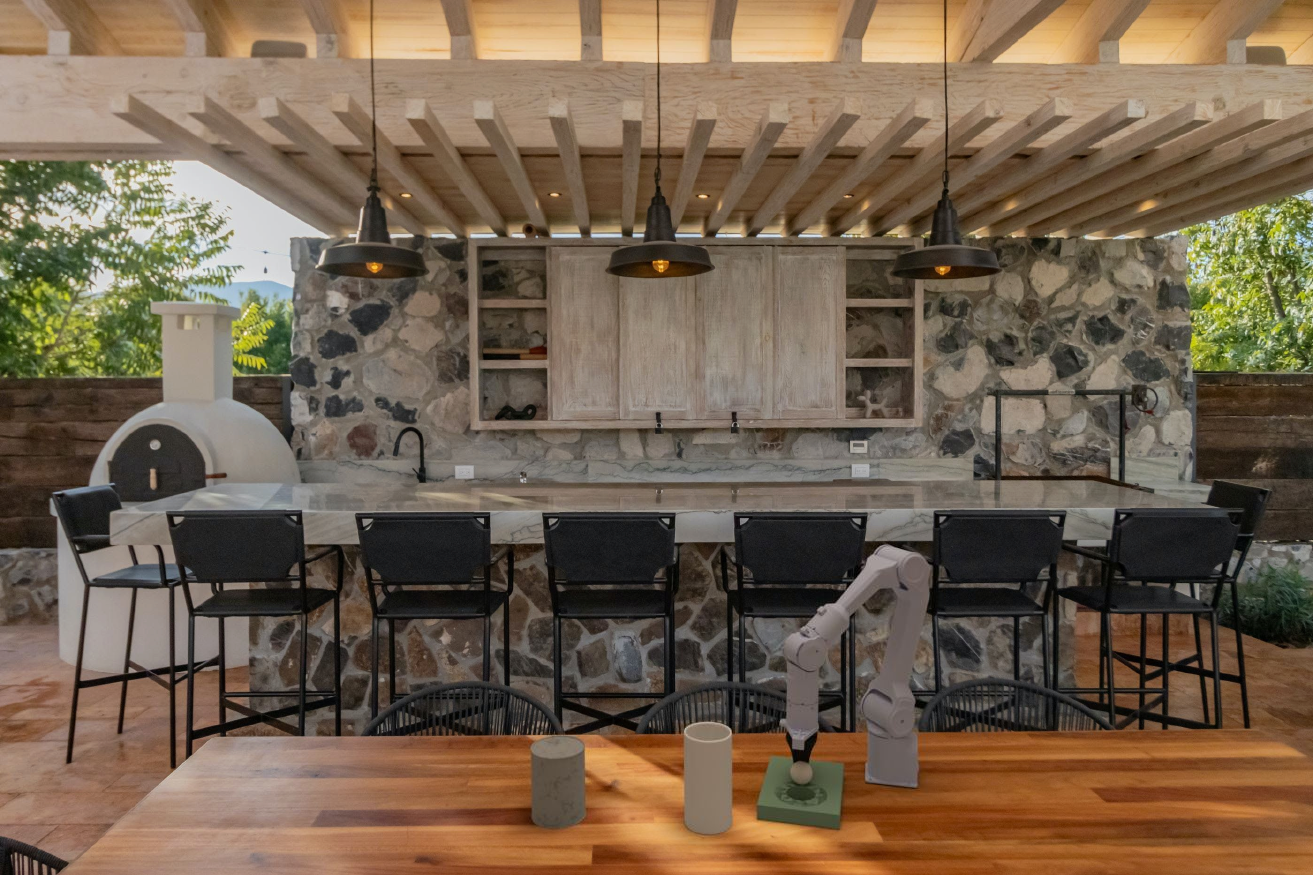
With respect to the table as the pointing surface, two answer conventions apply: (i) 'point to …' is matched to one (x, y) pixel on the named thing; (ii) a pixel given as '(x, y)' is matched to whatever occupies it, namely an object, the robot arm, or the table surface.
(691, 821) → the cup
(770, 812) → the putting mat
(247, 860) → the table surface
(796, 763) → the ball
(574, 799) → the grey marble cylinder
